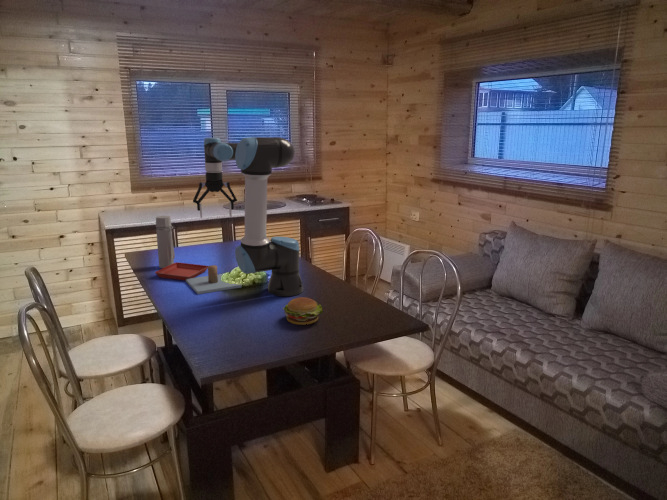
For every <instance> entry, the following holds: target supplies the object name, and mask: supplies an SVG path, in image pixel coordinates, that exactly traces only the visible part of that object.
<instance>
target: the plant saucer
mask: <svg viewBox="0 0 667 500" xmlns="http://www.w3.org/2000/svg"><path fill="white" fill-rule="evenodd" d="M208 266H209V265H203V264H194V263H188V262H187V263H185V262H178V261H177V262H174V264H171V265H169V266H167V267H165V268H163V269H162V268H160V269H159V270H157V271H154V274H156V276H157V277H159V278H160V279H161V278H162V279H169V280H176V281H177V280H179V281H185V282H186V279H190V278H196V277H199V276H200V275H202V274H203V273H205V272H206V271H208Z"/></svg>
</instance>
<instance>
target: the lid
mask: <svg viewBox="0 0 667 500" xmlns="http://www.w3.org/2000/svg"><path fill="white" fill-rule="evenodd" d="M207 266H208V268H207V275H205V276H204V275H203V276H196V277H194V278H190V279H186V281H185V283H186V284H188V285H189V287H190V288H191V289H192V290H193V291H194V292H195V293H196V294H197V295H202V294H208V293H216V292H221V291H227V290H228V291H229V290H234V289H235V290H236V289H241V288H242V287H243V286H242V284H241V285H239V284H238V285H237V284H229V283H225V282H223V281H221V276H222V275H223V274H225V273H220V274H218V265H216V264H212V265H207Z"/></svg>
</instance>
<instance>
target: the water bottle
mask: <svg viewBox="0 0 667 500" xmlns="http://www.w3.org/2000/svg"><path fill="white" fill-rule="evenodd" d="M155 228H156V243H157V254H158V255H157V257H158V267H159V268H160V269H163V268H165V267H167V266H169V265H171V264H174V263H175V262H174V261H175V249H174V241H173V233H172V229H174V226H173V225H172V222H171V216H170V215H158V216H156V217H155Z"/></svg>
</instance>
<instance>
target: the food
mask: <svg viewBox="0 0 667 500" xmlns="http://www.w3.org/2000/svg"><path fill="white" fill-rule="evenodd" d="M282 308H283V312H284V314H285V317H286V320H287V322H288V323H291V324H293V325H298V326H299V325H300V326H306V324H307V325H311V324H313V323H314V324H315V323H316V322H317V321H318V320H319V315H321V314H322V313H323V312H324V311H323V307H322V305H321V304H320V303H319V304H318V302H317V301H316V300H314V299H313V298H312V299H311V297H306V296H304V297H303V296H302V297H301V296H300V297H296V298H293V299H291V300H290V301H289V302H288V303H287V304H286V305H285V306H284V307H282Z"/></svg>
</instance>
